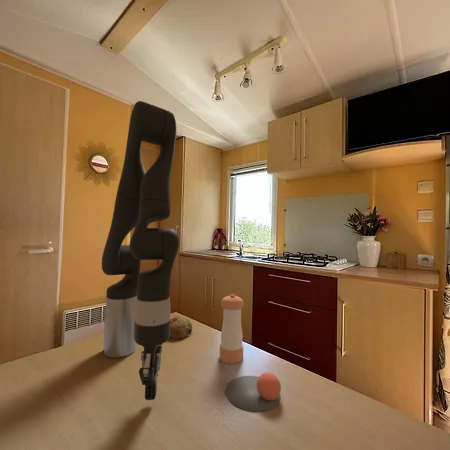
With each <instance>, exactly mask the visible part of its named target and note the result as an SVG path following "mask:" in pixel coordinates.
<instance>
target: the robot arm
mask: <svg viewBox="0 0 450 450" xmlns="http://www.w3.org/2000/svg"><path fill="white" fill-rule="evenodd" d="M177 127H178V126H177V119H176V116H175V114H174V113H173V112H172V111H169V110H167V109H164V108H162V107H159V106H156V105H154V104H151V103H148V102H146V101H142V100H138V101H136V102H135V103H134V105H133V108H132V110H131V114H130V118H129V124H128V132H127V140H126V147H125V153H124V160H123V165H122V171H121V174H120V177H119V178H120V179H119V183H118V187H117V191H116V195H115V200H114V208H113V212H112V213H113V214H112V220H111V223H110V228H109V232H108V235H107V238H106V242H105V245H104V248H103V251H102V252H103V253H102V256H101V270H102V271H103V273H104V274H105V275H107V276H119V275H124V277H123V278H122V279H120V280H119V281H117V282H116V283H113V284H111V285H110V286H108V287H107V288H106V291H105V293H106V297H105V298H106V299H105V301H106V302H105V320H104V323H103V325H104V326H103V327H104V328H103V352H104V355H105V357H108V358H122V357H127V356H130V355H131V354H133V353H135V351H136V350H137V345H138V346H142V347H143V350H141V352H140V361H141V367H140V368H139V370H138V374H139V379H140V381H141V385H142V386H144V399H145V400H146V401H151V400H152V401H154V400H155V398H156V395H157V384H158V383H157V382H158V377H159V371H160V368H161V363H162V362H161V361H162V353H163V344H164V343H166V342H167V341H168V340H169V339H170V319H171V295H170V294H171V279H172V278H171V277H172V272H173V268H174V267H173V266H174V264H175V261H176V257H177V254H178V252H179V248H180V237H179V235H178V232H177V231H176V230H175V229H173V228H159V227H158V228H157V227H156V228H155V227H148V226H150V224H152V223H155V222H161V221H164V220H167V219H169V217H170V216H171V212H172V211H171V205H172V204H171V180H172V179H171V178H172V170H173V165H174V164H173V163H174V156H175V148H176V147H175V145H176V139H177ZM142 142H144V143H148V144H152V145H155V146H158V147H160V151H159V154H158V156H157V158H156V160H155V161H154V162H153V164H152V165H151V166H150V168H149V169H148V170H147V171H146V169H145V166H144V163H143V159H142V153H141V152H142V151H141V150H142V149H141V148H142ZM132 230H133V232H132V236H131V237H130V242H129V244H125V245H123V242H124V240H125V239H126V237H127V236H129V235H128V234H129V233H131V231H132ZM149 260H150V261H152V260H154V261H155V260H157V261H159V260H162V261H161V263H160V264H159V265H158V266H157V267H155V268H151V269H147V270H143V271H141V266H142V265H141V262H142V261H149Z"/></svg>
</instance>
